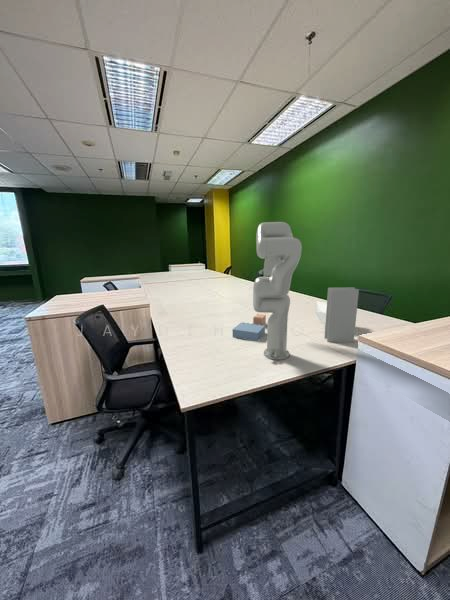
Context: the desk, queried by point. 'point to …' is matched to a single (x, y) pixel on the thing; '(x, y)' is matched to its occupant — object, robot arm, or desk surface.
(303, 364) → the desk surface
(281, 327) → the robot arm
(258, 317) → the stub
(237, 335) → the block
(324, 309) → the folded paper
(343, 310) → the tall grey block
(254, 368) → the desk surface
